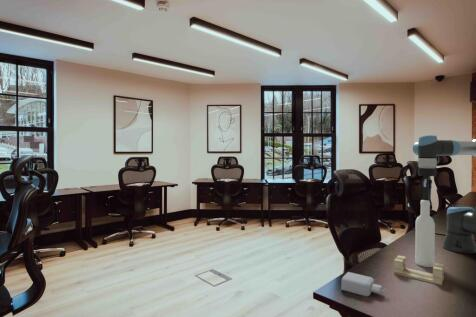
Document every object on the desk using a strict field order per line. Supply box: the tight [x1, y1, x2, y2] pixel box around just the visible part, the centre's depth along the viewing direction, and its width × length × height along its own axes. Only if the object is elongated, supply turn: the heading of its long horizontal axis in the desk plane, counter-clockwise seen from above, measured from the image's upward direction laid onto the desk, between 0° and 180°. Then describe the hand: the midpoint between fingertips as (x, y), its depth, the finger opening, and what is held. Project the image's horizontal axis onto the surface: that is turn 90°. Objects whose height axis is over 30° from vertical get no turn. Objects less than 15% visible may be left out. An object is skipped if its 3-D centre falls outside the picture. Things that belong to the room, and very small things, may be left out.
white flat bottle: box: [340, 271, 389, 297], centre depth 112 cm, size 5×9×15 cm
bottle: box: [414, 199, 436, 268], centre depth 139 cm, size 8×8×30 cm
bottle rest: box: [393, 255, 445, 286], centre depth 126 cm, size 8×17×6 cm, turn 51°
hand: (426, 216), depth 143 cm, fingers closed
